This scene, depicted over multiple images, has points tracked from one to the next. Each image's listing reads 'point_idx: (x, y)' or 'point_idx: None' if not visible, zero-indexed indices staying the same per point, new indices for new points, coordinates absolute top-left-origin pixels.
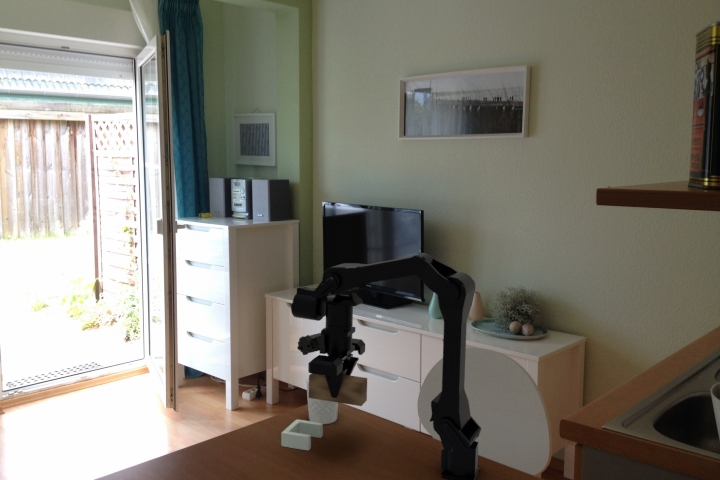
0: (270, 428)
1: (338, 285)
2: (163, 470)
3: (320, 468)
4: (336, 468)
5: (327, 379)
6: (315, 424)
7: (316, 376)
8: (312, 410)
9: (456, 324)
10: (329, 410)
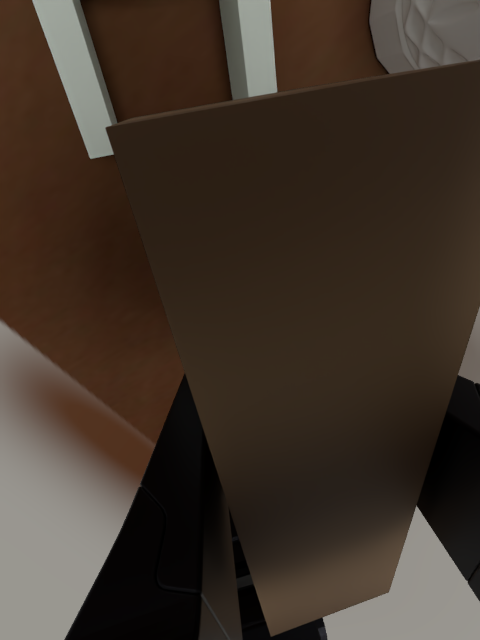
0: None
1: None
2: None
3: (15, 288)
4: (61, 328)
5: (111, 572)
6: (247, 92)
7: (175, 335)
8: None
9: None
10: (429, 66)
